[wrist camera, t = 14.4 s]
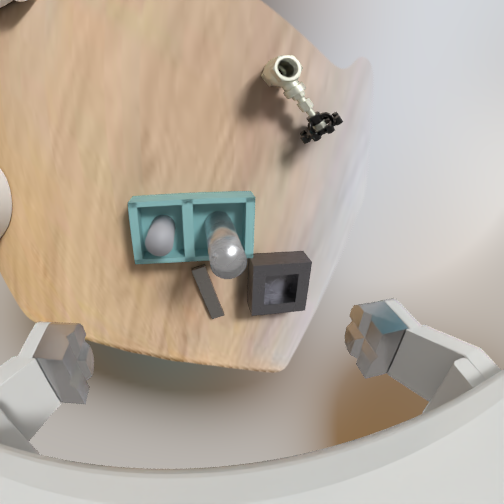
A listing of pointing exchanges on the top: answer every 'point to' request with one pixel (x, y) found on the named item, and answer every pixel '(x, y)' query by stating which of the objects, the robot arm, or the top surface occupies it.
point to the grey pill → (224, 246)
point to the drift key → (207, 291)
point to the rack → (185, 224)
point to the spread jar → (4, 0)
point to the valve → (299, 96)
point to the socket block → (278, 282)
